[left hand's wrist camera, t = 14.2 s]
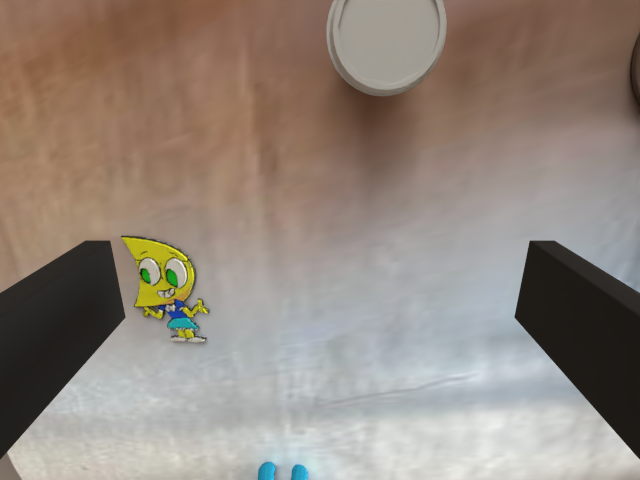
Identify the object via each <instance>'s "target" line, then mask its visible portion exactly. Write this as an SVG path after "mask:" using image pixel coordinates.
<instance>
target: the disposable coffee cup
mask: <svg viewBox="0 0 640 480" xmlns="http://www.w3.org/2000/svg"><path fill="white" fill-rule="evenodd" d="M446 25H447V22H446V13H445V8H444V5H443V1H442V0H334V1H333V3H332V6H331V9H330V12H329V15H328V21H327V28H326V31H327V45H328V51H329V54H330V57H331V60H332V62H333V64H334V66H335V68H336V70H337V71H338V73H339V74H340V75H341V76H342V78H343V79H344V80H345V81H346V82H347V83H348V84H350V85H351V86H353V87H354V88H355V89H357V90H359V91H361V92H364V93H366V94H369V95H374V96H392V95H396V94H400V93H403V92H405V91H407V90H410V89H412V88H413V87H414V86H416V85H417V84H419V83H420V82H421V81H422V80H423V79H424V78H425V77H426V76H427V75H428V74H429V73H430V72H431V70H432V69H433V68H434V66H435V64H436V63H437V61H438V59H439V57H440V54H441V52H442V50H443V46H444V42H445V37H446Z"/></svg>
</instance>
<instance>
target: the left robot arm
mask: <svg viewBox="0 0 640 480" xmlns="http://www.w3.org/2000/svg"><path fill="white" fill-rule="evenodd" d="M631 74H632V84H633V88H634V92H635V95H636V97H637V99H638V101H639V103H640V35H639V38H638V40H637V43H636V46H635V49H634V54H633V59H632V69H631ZM124 318H125V313H124V308H123V303H122V298H121V293H120V288H119V283H118V278H117V273H116V268H115V263H114V258H113V253H112V248H111V243H110V241H84V242H83V243H81V244H79V245H78V246H76V247H75V248H73V249H71V250H70V251H68V252H66V253H65V254H63V255H62V256H60V257H58V258H57V259H55V260H53V261H52V262H50V263H49V264H47V265H45V266H44V267H42V268H40V269H39V270H37V271H36V272H34V273H32V274H31V275H29V276H27V277H26V278H24V279H23V280H21V281H19V282H18V283H16V284H14V285H13V286H11V287H10V288H8V289H6V290H5V291H3V292H1V293H0V459H1V458H2V457H3V456H4V455H5V453H6V452H7V451H8V450H9V449H10V448H11V447H12V445H13V444H14V443H15V442H16V441H17V440H18V439H19V438H20V436H21V435H22V434H23V433H24V432H25V431H26V430H27V428H28V427H29V426H30V425H31V424H32V423H33V422H34V421H35V419H36V418H37V417H38V416H39V415H40V414H41V413H42V411H43V410H44V409H45V408H46V407H47V406H48V405H49V404H50V402H51V401H52V400H53V399H54V398H55V397H56V396H57V394H58V393H59V392H60V391H61V390H62V389H63V388H64V386H65V385H66V384H67V383H68V382H69V381H70V380H71V379H72V377H73V376H74V375H75V374H76V373H77V372H78V371H79V369H80V368H81V367H82V366H83V365H84V364H85V363H86V362H87V360H88V359H89V358H90V357H91V356H92V355H93V354H94V352H95V351H96V350H97V349H98V348H99V347H100V346H101V344H102V343H103V342H104V341H105V340H106V339H107V338H108V337H109V335H110V334H111V333H112V332H113V331H114V330H115V329H116V327H117V326H118V325H119V324H120V323H121V322H122V321H123V320H124ZM515 318H516V320H517V321H518V322H519V323H520V324H521V325H522V326H523V327H524V329H525V330H526V331H527V332H528V333H529V334H530V335H531V337H532V338H533V339H534V340H535V341H536V342H537V343H538V344H539V346H540V347H541V348H542V349H543V350H544V351H545V352H546V354H547V355H548V356H549V357H550V358H551V359H552V360H553V362H554V363H555V364H556V365H557V366H558V367H559V368H560V369H561V371H562V372H563V373H564V374H565V375H566V376H567V377H568V379H569V380H570V381H571V382H572V383H573V384H574V385H575V386H576V388H577V389H578V390H579V391H580V392H581V393H582V394H583V396H584V397H585V398H586V399H587V400H588V401H589V402H590V404H591V405H592V406H593V407H594V408H595V409H596V410H597V411H598V413H599V414H600V415H601V416H602V417H603V418H604V419H605V421H606V422H607V423H608V424H609V425H610V426H611V427H612V428H613V430H614V431H615V432H616V433H617V434H618V435H619V436H620V438H621V439H622V440H623V441H624V442H625V443H626V444H627V445H628V447H629V448H630V449H631V450H632V451H633V452H634V453H635V455H636V456H637V457H638V458H639V459H640V293H639V292H637V291H635V290H634V289H632V288H630V287H629V286H627V285H626V284H624V283H622V282H621V281H619V280H617V279H616V278H614V277H613V276H611V275H609V274H608V273H606V272H604V271H603V270H601V269H600V268H598V267H596V266H595V265H593V264H591V263H590V262H588V261H587V260H585V259H583V258H582V257H580V256H578V255H577V254H575V253H574V252H572V251H570V250H569V249H567V248H565V247H564V246H562V245H561V244H559V243H557V242H556V241H530V243H529V248H528V253H527V258H526V263H525V268H524V273H523V278H522V283H521V288H520V293H519V298H518V303H517V308H516V313H515Z"/></svg>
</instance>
